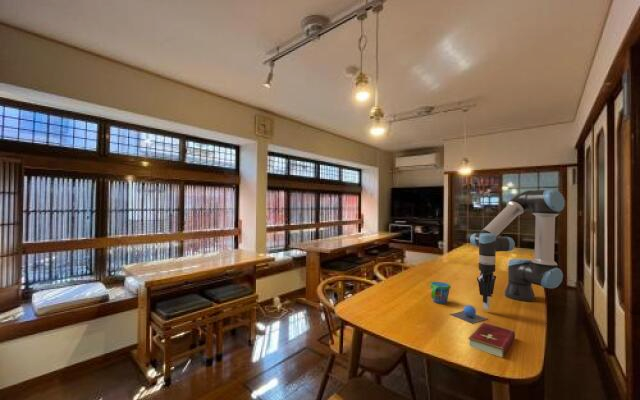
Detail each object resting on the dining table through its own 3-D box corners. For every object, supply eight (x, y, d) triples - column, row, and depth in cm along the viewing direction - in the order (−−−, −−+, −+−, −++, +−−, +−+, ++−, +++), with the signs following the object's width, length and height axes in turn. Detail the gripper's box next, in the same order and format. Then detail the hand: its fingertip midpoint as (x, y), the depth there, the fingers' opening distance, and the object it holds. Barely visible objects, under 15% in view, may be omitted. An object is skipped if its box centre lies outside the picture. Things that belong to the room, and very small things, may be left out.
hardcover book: (514, 340, 119) (515, 330, 119) (503, 359, 104) (503, 348, 104) (483, 330, 128) (483, 321, 128) (468, 347, 113) (468, 337, 113)
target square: (465, 310, 150) (465, 310, 150) (488, 319, 139) (488, 318, 139) (450, 314, 144) (450, 314, 144) (472, 323, 133) (472, 323, 133)
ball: (469, 317, 144) (472, 307, 145) (476, 320, 139) (479, 309, 140) (459, 312, 144) (463, 302, 145) (466, 315, 139) (469, 304, 140)
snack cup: (439, 296, 171) (440, 279, 171) (456, 302, 162) (456, 284, 162) (423, 301, 163) (423, 283, 163) (440, 307, 154) (440, 288, 154)
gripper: (487, 260, 154) (486, 304, 154) (472, 262, 148) (471, 308, 148) (501, 263, 148) (501, 309, 148) (486, 265, 142) (485, 313, 142)
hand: (486, 308), depth 148 cm, fingers closed
